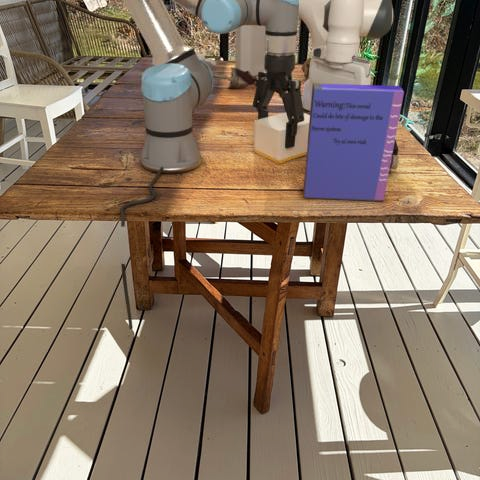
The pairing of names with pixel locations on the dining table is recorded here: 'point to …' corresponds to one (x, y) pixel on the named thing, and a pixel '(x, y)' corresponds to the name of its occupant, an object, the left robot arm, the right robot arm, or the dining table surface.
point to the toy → (198, 58)
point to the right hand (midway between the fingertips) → (335, 105)
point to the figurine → (239, 78)
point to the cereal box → (351, 141)
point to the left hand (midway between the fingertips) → (275, 141)
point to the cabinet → (279, 138)
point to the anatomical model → (306, 67)
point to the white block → (250, 48)
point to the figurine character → (394, 157)
